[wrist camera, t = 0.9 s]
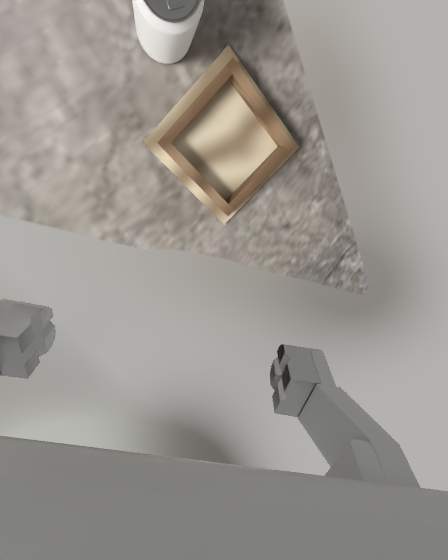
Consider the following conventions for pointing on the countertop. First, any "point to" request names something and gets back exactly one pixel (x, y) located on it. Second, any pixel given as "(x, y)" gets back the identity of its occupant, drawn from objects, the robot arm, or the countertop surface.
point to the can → (167, 27)
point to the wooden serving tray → (223, 138)
